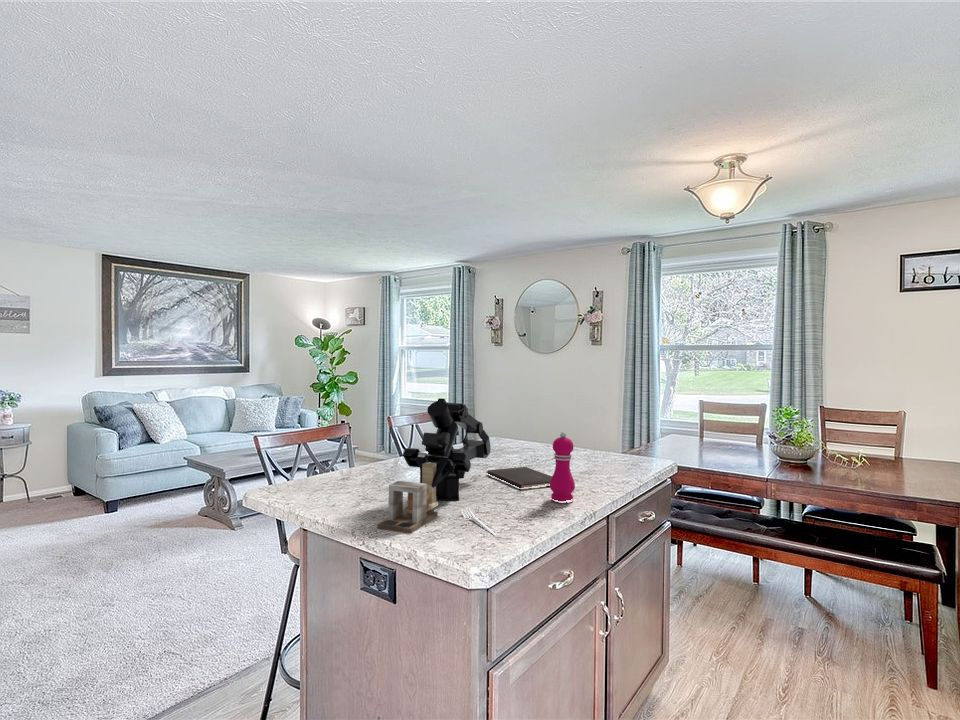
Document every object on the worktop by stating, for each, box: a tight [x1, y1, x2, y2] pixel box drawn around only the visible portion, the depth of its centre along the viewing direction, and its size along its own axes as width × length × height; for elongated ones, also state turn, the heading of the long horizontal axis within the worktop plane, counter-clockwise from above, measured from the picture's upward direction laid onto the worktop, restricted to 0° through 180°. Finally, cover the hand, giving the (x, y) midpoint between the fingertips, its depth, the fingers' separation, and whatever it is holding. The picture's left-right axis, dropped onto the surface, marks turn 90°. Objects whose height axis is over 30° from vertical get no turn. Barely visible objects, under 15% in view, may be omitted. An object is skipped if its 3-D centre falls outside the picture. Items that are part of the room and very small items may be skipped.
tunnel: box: [376, 480, 439, 534], centre depth 127 cm, size 14×9×9 cm, turn 160°
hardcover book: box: [486, 466, 553, 488], centre depth 174 cm, size 16×23×2 cm
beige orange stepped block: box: [406, 462, 439, 514], centre depth 134 cm, size 10×4×11 cm, turn 160°
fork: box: [460, 507, 497, 536], centre depth 126 cm, size 3×20×2 cm, turn 24°
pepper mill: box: [549, 431, 576, 501], centre depth 149 cm, size 7×7×20 cm
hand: (426, 486), depth 137 cm, fingers closed on beige orange stepped block, 3 cm apart
